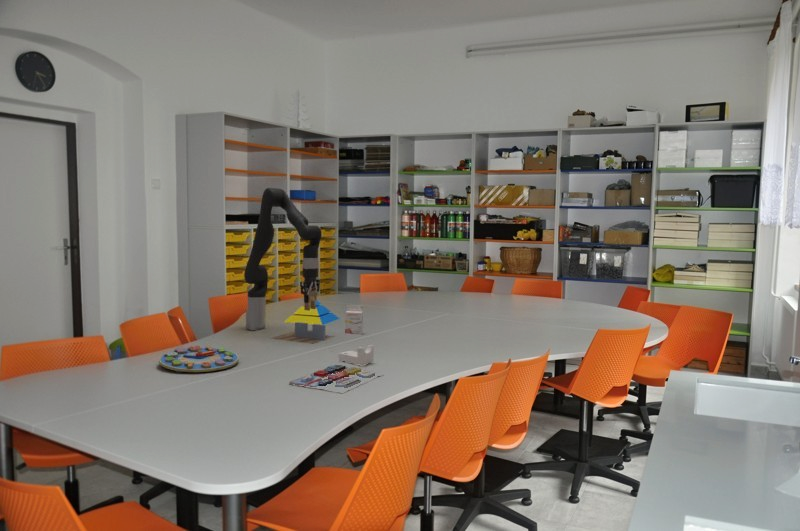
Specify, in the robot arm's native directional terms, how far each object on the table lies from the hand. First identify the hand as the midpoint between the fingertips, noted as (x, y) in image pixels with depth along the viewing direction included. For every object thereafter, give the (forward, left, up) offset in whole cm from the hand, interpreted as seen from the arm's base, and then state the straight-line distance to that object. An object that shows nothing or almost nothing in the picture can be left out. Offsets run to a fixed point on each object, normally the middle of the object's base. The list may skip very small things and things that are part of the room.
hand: (310, 301), depth 310 cm
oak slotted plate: (0, 0, -4) cm, 4 cm away
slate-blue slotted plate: (0, 0, -18) cm, 18 cm away
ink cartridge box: (+11, +24, -19) cm, 33 cm away
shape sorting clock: (-12, -63, -19) cm, 67 cm away
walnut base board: (-4, 0, -19) cm, 19 cm away
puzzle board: (+48, -56, -20) cm, 76 cm away
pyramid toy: (-29, +48, -20) cm, 59 cm away
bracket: (+41, -28, -19) cm, 53 cm away
